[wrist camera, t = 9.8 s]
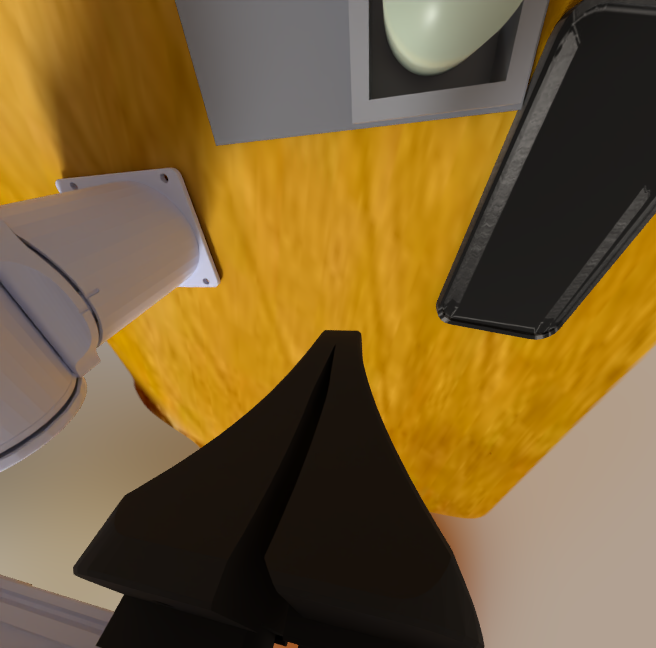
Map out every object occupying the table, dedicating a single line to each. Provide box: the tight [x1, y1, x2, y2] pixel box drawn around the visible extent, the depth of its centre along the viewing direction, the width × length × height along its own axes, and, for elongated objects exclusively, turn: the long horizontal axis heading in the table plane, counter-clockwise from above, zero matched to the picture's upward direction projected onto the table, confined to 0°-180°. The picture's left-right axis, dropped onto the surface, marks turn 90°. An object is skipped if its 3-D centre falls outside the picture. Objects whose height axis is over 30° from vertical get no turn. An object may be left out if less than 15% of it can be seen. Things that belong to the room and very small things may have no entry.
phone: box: [436, 0, 656, 340], centre depth 14 cm, size 8×1×15 cm
